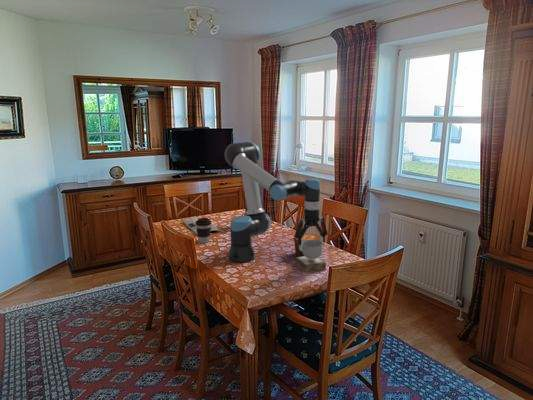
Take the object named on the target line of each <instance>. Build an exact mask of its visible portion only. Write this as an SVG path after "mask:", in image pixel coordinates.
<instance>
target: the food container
mask: <svg viewBox="0 0 533 400" xmlns="http://www.w3.org/2000/svg"><path fill="white" fill-rule="evenodd" d="M319 236H320V235H317V234H313V233H305V234H304V235H303V237H302V239H303V241H306V240H309V239H312V240H319ZM292 240H293V242H294V251H295V253H294V254H295V256H296V257H303V256H304V255H303V251H300V250H299V244H298V238H296V237H295V236H293V238H292Z"/></svg>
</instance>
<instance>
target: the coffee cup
mask: <svg viewBox="0 0 533 400" xmlns="http://www.w3.org/2000/svg"><path fill="white" fill-rule="evenodd" d="M198 218H199V219H198V221H196V222H195V223H196V225H197V235H196V236H197V241H198V243H200V244H208V243H210V241H211V232H212V231H211V226H210V224H211V223H212V220H210V219H209V218H208V217H203V218H202V217H198Z"/></svg>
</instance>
